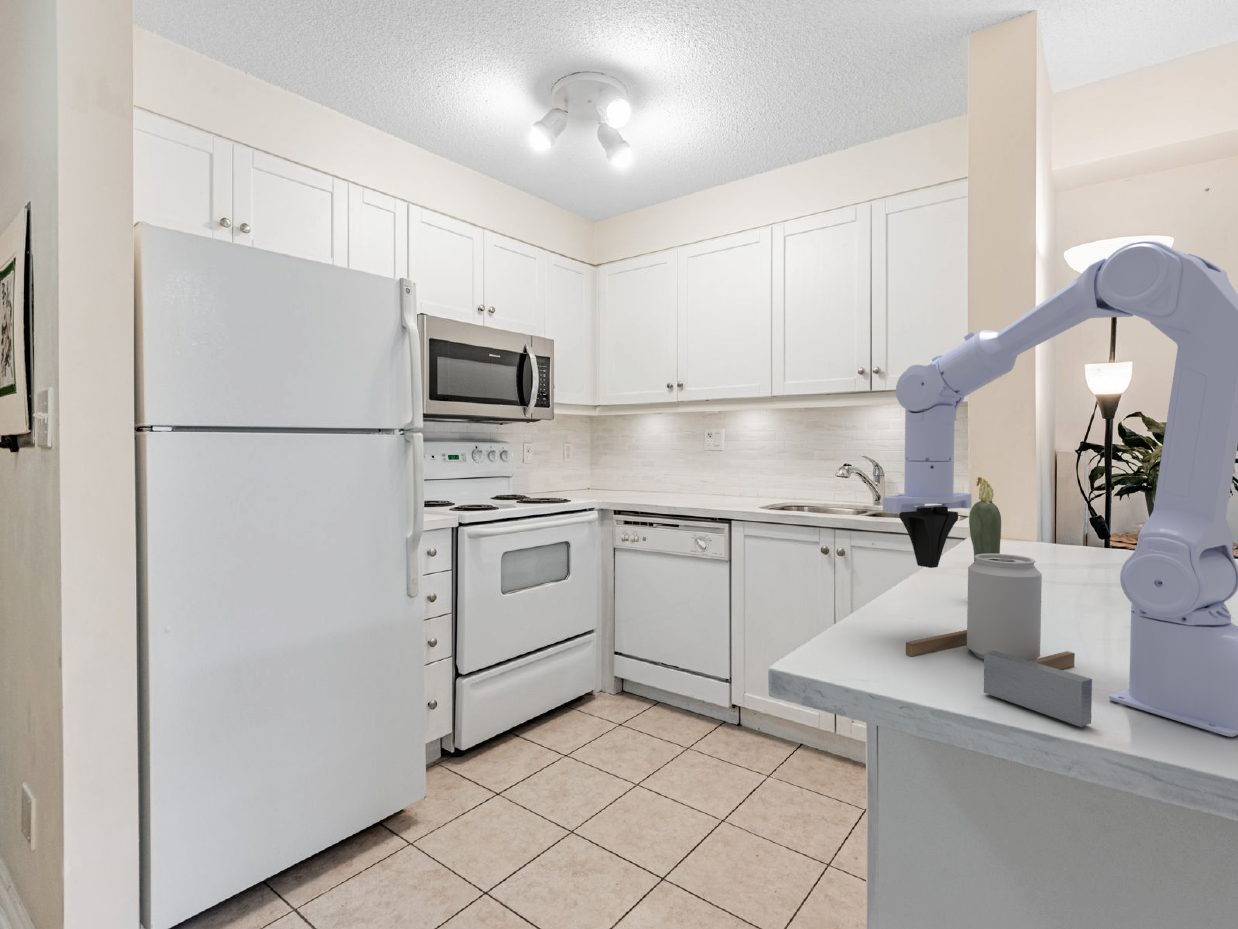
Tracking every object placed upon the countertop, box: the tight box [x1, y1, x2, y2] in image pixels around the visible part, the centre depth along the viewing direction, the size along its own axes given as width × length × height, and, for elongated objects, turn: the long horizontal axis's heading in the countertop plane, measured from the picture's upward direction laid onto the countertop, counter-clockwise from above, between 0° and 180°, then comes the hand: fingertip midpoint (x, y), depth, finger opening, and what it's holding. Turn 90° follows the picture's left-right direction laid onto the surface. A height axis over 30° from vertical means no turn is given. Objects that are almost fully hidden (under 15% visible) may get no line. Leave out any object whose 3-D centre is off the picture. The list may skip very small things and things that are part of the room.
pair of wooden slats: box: [905, 629, 1076, 670], centre depth 76 cm, size 12×14×2 cm
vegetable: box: [968, 476, 1002, 563], centre depth 102 cm, size 4×4×20 cm
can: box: [966, 553, 1043, 661], centre depth 77 cm, size 8×8×12 cm
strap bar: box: [983, 651, 1093, 728], centre depth 62 cm, size 9×2×4 cm, turn 27°
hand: (927, 566), depth 85 cm, fingers closed
